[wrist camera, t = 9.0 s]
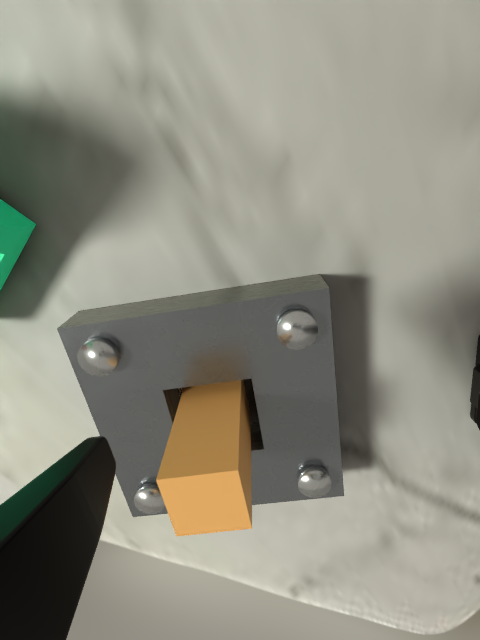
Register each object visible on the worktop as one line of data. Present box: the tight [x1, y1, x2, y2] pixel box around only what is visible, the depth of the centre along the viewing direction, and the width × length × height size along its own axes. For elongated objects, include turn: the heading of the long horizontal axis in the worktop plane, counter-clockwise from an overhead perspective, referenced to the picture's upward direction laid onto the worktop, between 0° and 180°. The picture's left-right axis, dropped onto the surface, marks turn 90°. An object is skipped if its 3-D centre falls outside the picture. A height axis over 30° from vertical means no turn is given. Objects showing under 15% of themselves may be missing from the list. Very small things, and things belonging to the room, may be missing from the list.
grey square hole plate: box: [57, 274, 344, 517], centre depth 21 cm, size 14×14×3 cm
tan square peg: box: [156, 380, 252, 536], centre depth 19 cm, size 4×4×8 cm
